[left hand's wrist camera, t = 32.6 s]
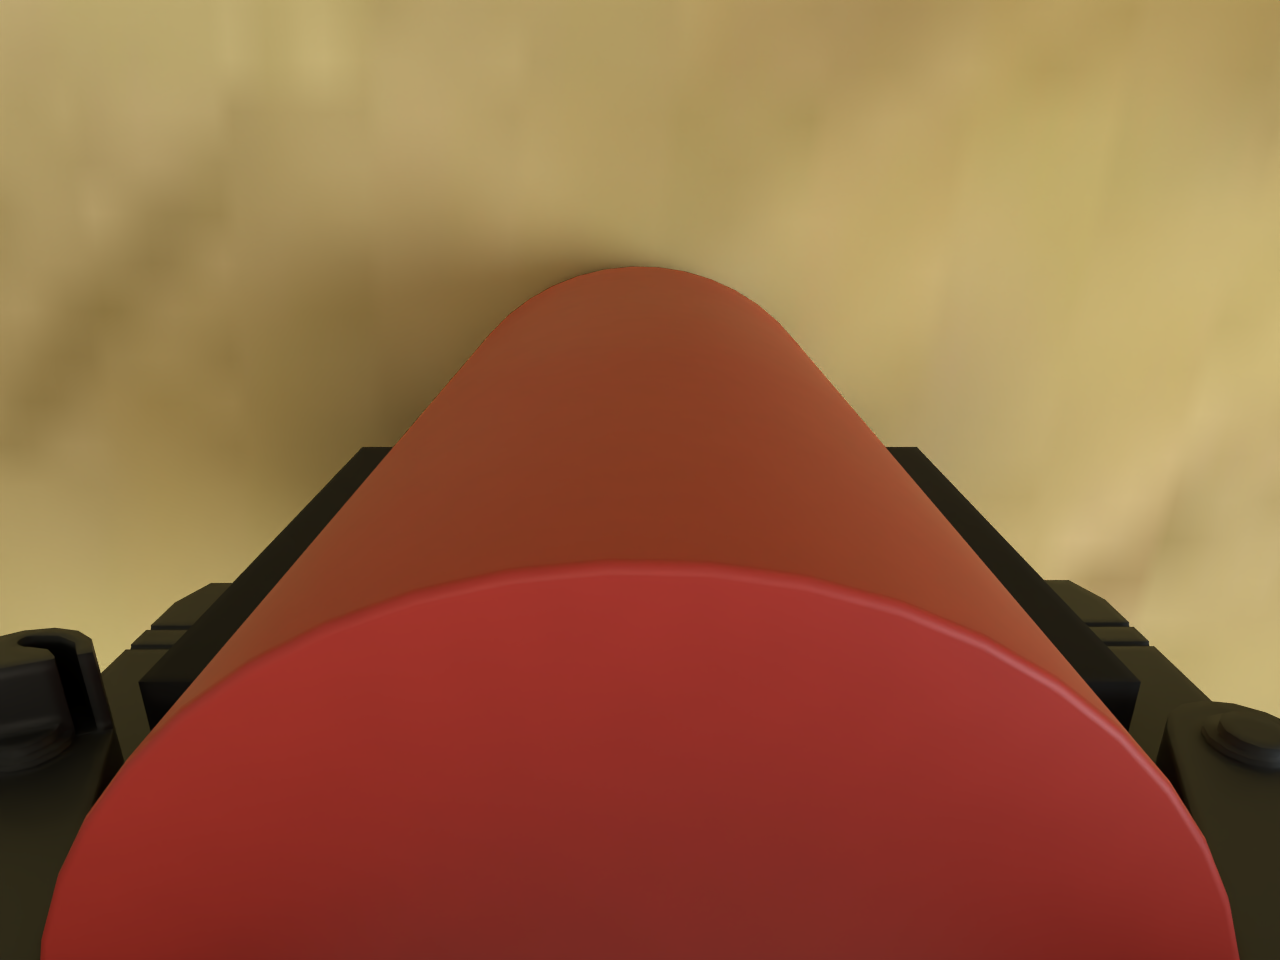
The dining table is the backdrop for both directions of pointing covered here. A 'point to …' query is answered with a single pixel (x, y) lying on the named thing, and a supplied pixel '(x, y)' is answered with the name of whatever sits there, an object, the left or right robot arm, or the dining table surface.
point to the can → (639, 698)
